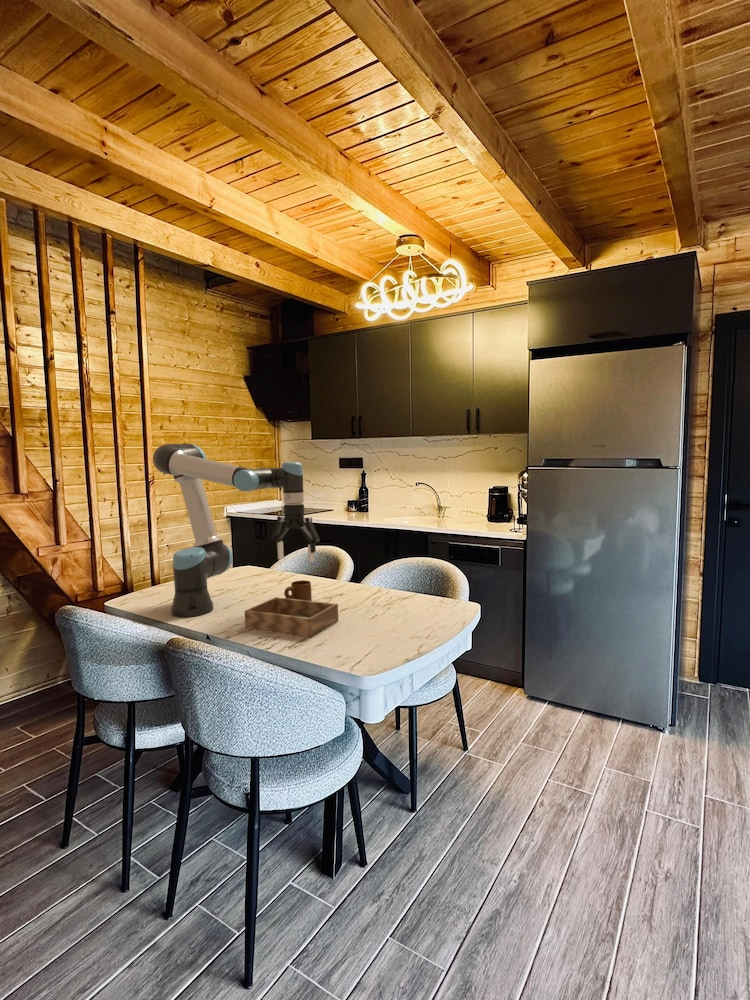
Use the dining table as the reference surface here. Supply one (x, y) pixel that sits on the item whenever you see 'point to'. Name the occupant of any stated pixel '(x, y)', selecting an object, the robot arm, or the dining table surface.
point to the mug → (299, 591)
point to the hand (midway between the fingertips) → (295, 560)
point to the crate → (278, 620)
